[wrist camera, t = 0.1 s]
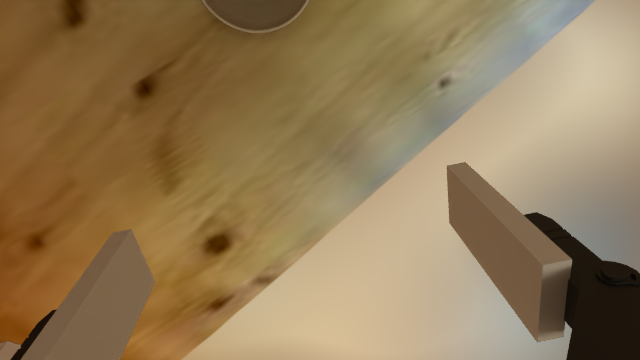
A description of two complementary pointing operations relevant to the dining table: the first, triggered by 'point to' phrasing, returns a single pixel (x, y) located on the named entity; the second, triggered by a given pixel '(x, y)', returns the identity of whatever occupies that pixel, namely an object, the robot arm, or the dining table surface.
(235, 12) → the flower pot
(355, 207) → the dining table surface
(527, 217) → the robot arm
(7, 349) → the cup
